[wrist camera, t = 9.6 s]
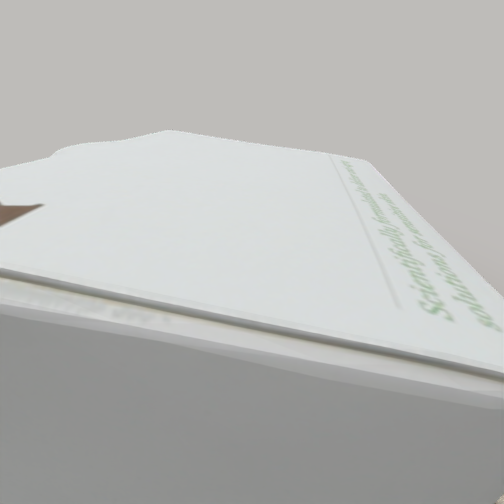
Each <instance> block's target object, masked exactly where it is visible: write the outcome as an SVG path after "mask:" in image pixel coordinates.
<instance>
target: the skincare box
mask: <svg viewBox="0 0 504 504" xmlns="http://www.w3.org/2000/svg"><path fill="white" fill-rule="evenodd" d="M503 493H504V298H503V297H502V296H501V295H500V294H499V293H498V292H497V291H496V290H495V289H494V288H493V287H492V286H491V285H490V284H489V283H488V282H487V281H486V280H485V279H484V278H483V277H482V276H481V275H480V274H479V273H478V272H477V271H476V270H475V269H474V268H473V267H472V266H471V265H470V264H469V263H468V262H467V261H466V260H465V259H464V258H463V257H462V256H461V255H460V254H459V253H458V252H457V251H456V250H455V249H454V248H453V247H452V246H451V245H450V244H449V243H448V242H447V241H446V240H445V239H444V238H443V237H442V236H441V235H440V234H439V233H438V232H437V231H436V230H435V229H434V228H433V227H432V226H431V225H430V224H429V223H427V221H426V220H425V219H424V218H422V216H421V215H420V214H419V213H418V212H417V211H416V210H415V209H413V207H411V205H410V204H409V203H408V202H407V201H406V200H405V199H404V198H403V197H402V196H401V195H400V194H399V193H398V192H397V191H396V190H395V189H394V188H393V187H392V186H391V185H390V184H389V183H388V182H387V181H386V180H385V179H384V177H383V176H382V175H380V173H379V172H378V171H377V170H376V169H375V168H374V167H373V166H372V165H371V164H370V163H369V162H368V161H366V160H361V159H357V158H351V157H346V156H341V155H335V154H330V153H323V152H316V151H308V150H301V149H293V148H285V147H279V146H270V145H264V144H256V143H250V142H243V141H237V140H230V139H223V138H218V137H212V136H206V135H200V134H194V133H189V132H182V131H174V130H166V131H161V132H157V133H152V134H148V135H144V136H139V137H135V138H130V139H125V140H120V141H108V142H93V143H84V144H78V145H73V146H68V147H65V148H62V149H59V150H57V151H56V152H55V153H54V154H53V155H52V156H51V157H48V158H44V159H40V160H36V161H32V162H28V163H24V164H19V165H14V166H10V167H5V168H1V169H0V504H494V503H495V502H496V501H497V500H498V499H499V498H500V497H501V496H502V495H503Z"/></svg>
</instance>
